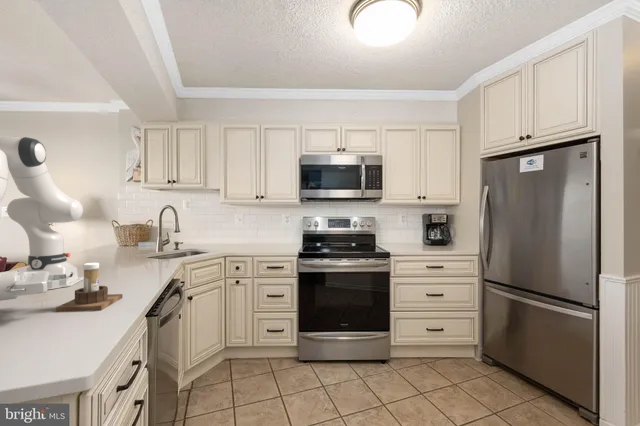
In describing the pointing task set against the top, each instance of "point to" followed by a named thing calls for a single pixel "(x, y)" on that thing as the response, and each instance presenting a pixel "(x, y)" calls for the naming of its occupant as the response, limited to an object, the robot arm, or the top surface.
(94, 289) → the sprinkles bottle
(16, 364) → the top surface
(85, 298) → the walnut collar block
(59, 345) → the top surface
